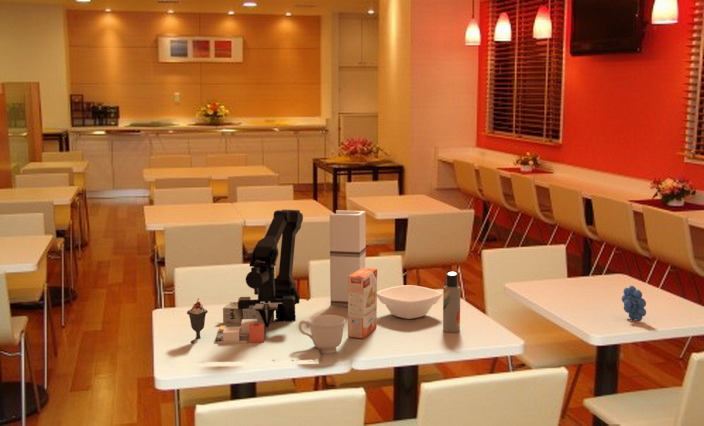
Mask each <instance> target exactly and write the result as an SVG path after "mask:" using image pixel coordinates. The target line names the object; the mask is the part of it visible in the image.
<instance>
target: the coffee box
mask: <svg viewBox="0 0 704 426" xmlns="http://www.w3.org/2000/svg"><path fill="white" fill-rule="evenodd" d="M255 309H256V306H255V305H250V307H249V308H248V309H238V301H237V302H235V301H233V302H232V301H230V302H229V303H228V304H226V305H225V306H223V308H222V323H223V324H241V322H242V319H257V322H258V323H264V321H263V319H262V317H261V315H260V313H259V311H255ZM265 311H266V318H267V319H268V311H269V305H265ZM274 321H275V312H274V313H273V315H272V317H271V320H270V323H273V322H274Z"/></svg>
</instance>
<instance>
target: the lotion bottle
mask: <svg viewBox="0 0 704 426" xmlns="http://www.w3.org/2000/svg"><path fill="white" fill-rule="evenodd" d="M445 275H446V277H445V279H446V280H445V285H444V286H443V287H442V288H443V289H442V290H443V291H442V292H443V293H442V298H443V299H442V303H443V304H442V330H443V332H446V333H451V334H452V333H458V332H460V330H461V286H459V275H458V273H457V272H456V271H449V272H446V274H445Z"/></svg>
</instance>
